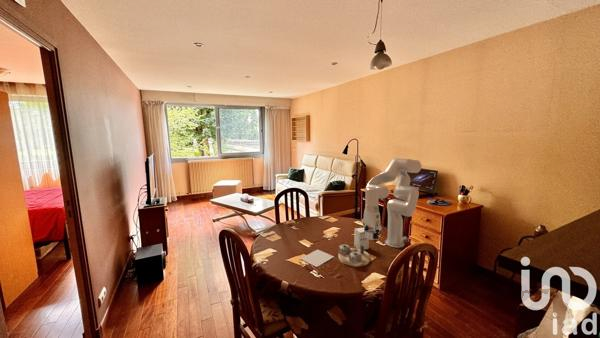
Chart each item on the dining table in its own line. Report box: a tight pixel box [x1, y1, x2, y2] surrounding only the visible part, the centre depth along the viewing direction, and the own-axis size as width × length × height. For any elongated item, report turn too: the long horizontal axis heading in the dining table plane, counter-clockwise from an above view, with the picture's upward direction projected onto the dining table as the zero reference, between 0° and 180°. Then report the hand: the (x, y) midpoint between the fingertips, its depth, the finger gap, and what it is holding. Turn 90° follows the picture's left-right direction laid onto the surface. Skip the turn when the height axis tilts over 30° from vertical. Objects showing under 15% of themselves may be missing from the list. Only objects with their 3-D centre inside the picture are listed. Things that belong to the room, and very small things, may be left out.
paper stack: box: [299, 249, 335, 268], centre depth 142 cm, size 23×25×1 cm
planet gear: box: [365, 228, 376, 241], centre depth 144 cm, size 7×7×4 cm
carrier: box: [338, 244, 371, 268], centre depth 147 cm, size 19×19×7 cm
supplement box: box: [353, 227, 370, 250], centre depth 161 cm, size 7×7×13 cm
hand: (371, 236), depth 144 cm, fingers closed on planet gear, 7 cm apart
